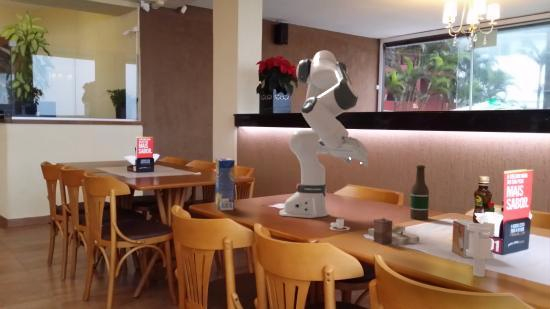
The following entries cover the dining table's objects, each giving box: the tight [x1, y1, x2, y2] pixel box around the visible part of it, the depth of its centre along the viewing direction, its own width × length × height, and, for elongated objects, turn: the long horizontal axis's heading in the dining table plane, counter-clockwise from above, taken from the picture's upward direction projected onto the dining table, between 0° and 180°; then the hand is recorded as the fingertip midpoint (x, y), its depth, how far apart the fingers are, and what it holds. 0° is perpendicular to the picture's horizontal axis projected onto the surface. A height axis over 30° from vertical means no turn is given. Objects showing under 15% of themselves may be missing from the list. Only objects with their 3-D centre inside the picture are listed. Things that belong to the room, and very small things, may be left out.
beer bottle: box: [409, 164, 430, 221], centre depth 213 cm, size 8×8×24 cm
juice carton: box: [214, 158, 236, 211], centre depth 234 cm, size 12×8×24 cm, turn 16°
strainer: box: [466, 221, 495, 278], centre depth 132 cm, size 7×7×15 cm
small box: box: [451, 219, 481, 259], centre depth 153 cm, size 8×6×10 cm
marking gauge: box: [373, 217, 406, 246], centre depth 169 cm, size 12×4×9 cm, turn 115°
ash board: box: [367, 227, 420, 246], centre depth 175 cm, size 9×18×2 cm, turn 25°
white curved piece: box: [329, 218, 351, 231], centre depth 191 cm, size 9×8×4 cm
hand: (358, 164), depth 171 cm, fingers open, 8 cm apart
